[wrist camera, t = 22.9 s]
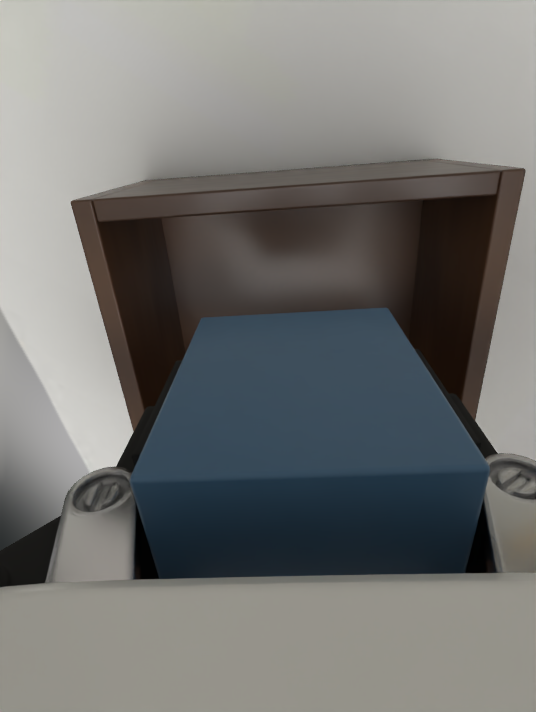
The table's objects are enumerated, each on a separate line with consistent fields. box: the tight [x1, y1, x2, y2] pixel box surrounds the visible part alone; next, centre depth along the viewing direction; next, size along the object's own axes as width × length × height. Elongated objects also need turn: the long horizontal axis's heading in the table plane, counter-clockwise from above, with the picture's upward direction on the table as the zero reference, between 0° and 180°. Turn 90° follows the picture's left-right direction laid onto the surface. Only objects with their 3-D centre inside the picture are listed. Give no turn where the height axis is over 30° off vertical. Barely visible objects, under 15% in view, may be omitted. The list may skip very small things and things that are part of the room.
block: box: [130, 308, 490, 579], centre depth 9 cm, size 5×5×6 cm
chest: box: [71, 159, 525, 431], centre depth 21 cm, size 15×16×9 cm
